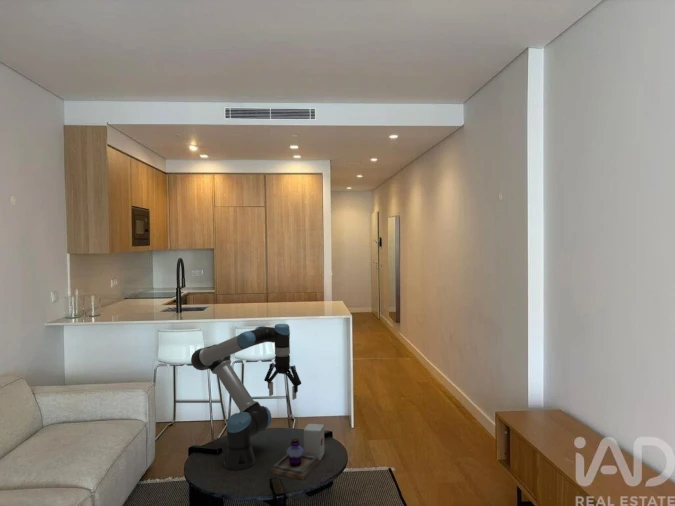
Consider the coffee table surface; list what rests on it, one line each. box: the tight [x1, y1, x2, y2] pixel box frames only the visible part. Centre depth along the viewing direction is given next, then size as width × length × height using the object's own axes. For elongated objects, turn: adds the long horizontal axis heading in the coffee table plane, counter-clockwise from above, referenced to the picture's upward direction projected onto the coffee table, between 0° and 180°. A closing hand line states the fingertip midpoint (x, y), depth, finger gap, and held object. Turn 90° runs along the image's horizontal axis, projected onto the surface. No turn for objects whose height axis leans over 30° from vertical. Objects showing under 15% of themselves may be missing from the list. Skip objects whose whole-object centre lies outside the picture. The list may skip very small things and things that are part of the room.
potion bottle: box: [286, 437, 304, 467], centre depth 224 cm, size 9×9×12 cm
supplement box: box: [303, 423, 325, 461], centre depth 237 cm, size 9×9×15 cm
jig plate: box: [270, 453, 321, 481], centre depth 224 cm, size 17×18×3 cm
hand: (282, 397), depth 233 cm, fingers open, 13 cm apart
